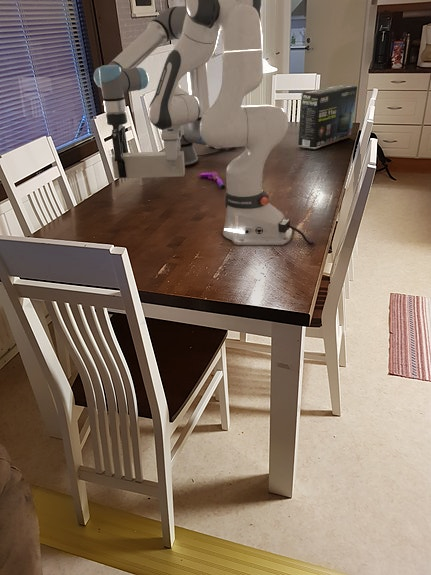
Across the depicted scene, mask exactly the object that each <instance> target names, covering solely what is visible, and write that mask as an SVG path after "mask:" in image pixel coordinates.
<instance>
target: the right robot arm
mask: <svg viewBox="0 0 431 575" xmlns="http://www.w3.org/2000/svg"><path fill="white" fill-rule="evenodd" d="M262 1H263V0H184V6H185V8H186V12H187V13H186V16H185V20H184V24H183V29H182V33H181V36H180V39H178V41H177V43H176V44H175V47H173V49H172V51H171V52H169V54H168V55H167V57H166V59H165V63H164V65H163V68H162V71H161V74H160V77H159V80H158V84H157V87H156V90H155V93H154V95H153V98H152V100H151V101H150V103H149V106H148V112H147V113H148V119H149V121H150V123H151V124H152V125H153V126H154V127H155V128H157V129H158V130H159V131H160V132H159V133H160V139H161V141H162V143H163V149H164V152H165V155H166V159H167V161H168V162H170V163H171V168H172V170H176V169H177V166H176V161H177V157H178V154H179V151H180V149H181V140H180V139H181V136H182V135H184V124H189V123H193V122H195V121H197V119H198V118H199V115H200V104H199V101H198V100H197V98H196V97H195V96H193V95H190V94H189V92H187V91H185V90H184V89H183V87H182V86H181V84H180V83H179V82H180V80H181V78H183V77H184V76H185V75H187V73H188V72H190V71H192V70H193V69H195V68H198V67H200V66H202V65H204V64H207V63H208V62H210V60H211V59H212V57H213V56H214V54H215V51H216V49H217V45H218V40H219V36H220V34H221V52H222V53H221V60H222V63H221V64H222V66H221V67H222V74H221V84H220V90H219V93H218V94H217V97H216V100H215V101H214V102H213V104H212V105H211V106H210V109H209V110H208V111H206V112H205V114H204V115H203V117H202V119H201V121H200V134H201V137H202V139H203V141H204V142H205V143H206V144H207V145H208V146H213V147H212V148H214V147H221V148H228V147H232V148H238V147H245V148H244V149H243V151H242V153H241V154H240V155H238V156H237V157H234V158H233V159H232V160H231V161H230V162H229V163H228V165H226V169H225V177H226V178H225V179H226V180H225V183H226V190H225V194H224V205H225V209H226V210H225V218H224V219H225V220H224V226H223V229H222V235H223V237H225V239H228V240H230V241H232V243H233V244H234V245H236V246H283V245H286V244H288V243H289V242H290V240H291V239H292V237H293V231H295V232H297V233H298V234H300V235H301V237H302V238H303V240H304V242H305V243H306V244H308V245H314V244H315V243H314V241H310V240H308V238H307V237H306V235H305V234H304V233H303V232H302V231H301V230H300V229H298V228H296V227H294V226H292V225H291V219H290V218H285V215H284V213H283V212H282V211H280V210H279V209H278V208H277V207H276V206H275V205H272V204H271V203H270V202H269V194H270V192H269V191H267V192H266V191H265V190H263V178H264V169H265V164H266V162H267V159H268V156H269V155H270V154H271V152H272V151H273V149H274V148H275V147H276V146H277V145H278V144H279V143H280V142H282V141H283V140H284V139H285V137H286V135H287V133H288V130H289V118H288V115H287V112H286V111H285V110H284V109H283V108H282V107H281V106H275V105H270V104H261V105H260V104H259V105H243V101H244V98H245V97H246V96H247V95H248V94H250V93H252V92H253V91H255V90H256V89H257V88H258V87H259V86H260V85H261V84H262V82H263V78H264V61H263V56H264V54H263V52H264V51H263V48H264V46H263V32H262V25H261V24H262V23H261V19H260V14H261V11H262V6H263V5H262V4H263V3H262ZM207 145H206V146H207Z"/></svg>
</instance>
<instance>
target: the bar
mask: <svg viewBox="0 0 431 575" xmlns="http://www.w3.org/2000/svg"><path fill="white" fill-rule="evenodd" d="M123 159H124V161H125V168H126V175H127V177H126V178H125V179H141V178H142V179H143V178H145V179H146V178H174V177H175V178H179V177H185V174H186V168H185V167H186V166H185V164H184V151H179V154H178V157H177V161H176V166H177V169H176V170H172V168H171V163H170V162H168V161H167V159H166V155H165V151H143V152H142V151H141V152H127V153H123ZM111 163H112V170H113V176H114V179H120V178H119V172H118V165H117V161H115V155H114V153H113V154H112V155H111Z"/></svg>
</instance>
